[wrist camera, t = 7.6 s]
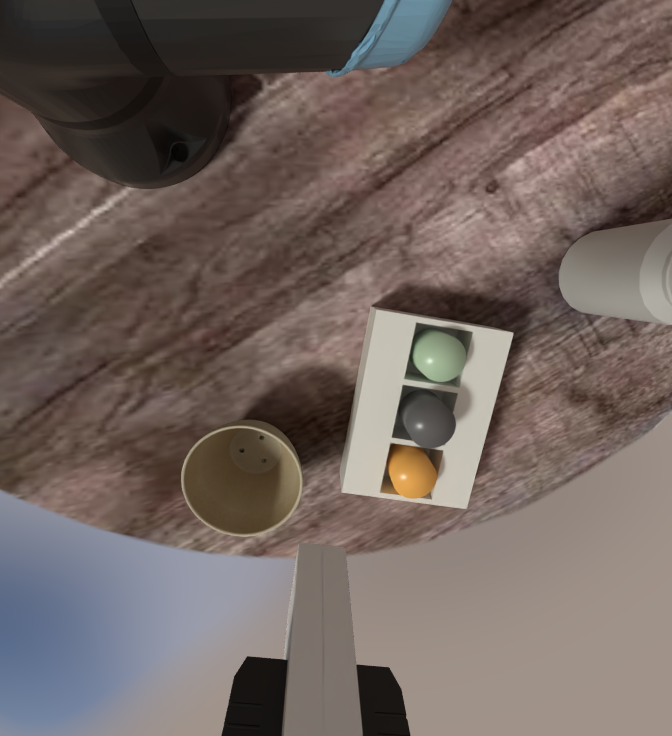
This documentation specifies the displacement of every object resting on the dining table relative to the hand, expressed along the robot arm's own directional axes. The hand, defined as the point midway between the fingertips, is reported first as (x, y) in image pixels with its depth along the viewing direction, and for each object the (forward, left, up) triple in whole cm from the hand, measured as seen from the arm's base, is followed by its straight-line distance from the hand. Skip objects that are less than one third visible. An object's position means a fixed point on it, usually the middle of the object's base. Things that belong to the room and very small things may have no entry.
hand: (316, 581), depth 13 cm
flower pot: (+8, -5, -26) cm, 28 cm away
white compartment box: (+1, +10, -26) cm, 28 cm away
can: (-14, +24, -26) cm, 38 cm away
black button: (+1, +10, -24) cm, 26 cm away
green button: (-5, +10, -25) cm, 27 cm away
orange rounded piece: (+6, +10, -25) cm, 27 cm away
